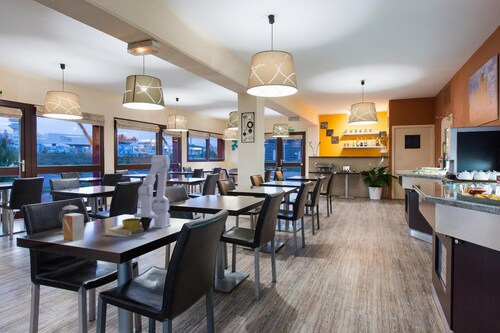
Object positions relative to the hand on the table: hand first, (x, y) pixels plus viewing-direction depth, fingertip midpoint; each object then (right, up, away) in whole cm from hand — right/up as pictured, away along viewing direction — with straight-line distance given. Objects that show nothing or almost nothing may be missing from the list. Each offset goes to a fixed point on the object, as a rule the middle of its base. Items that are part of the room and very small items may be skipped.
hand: (146, 230), depth 176 cm
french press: (-46, -2, +5) cm, 46 cm away
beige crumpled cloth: (-11, -1, +4) cm, 12 cm away
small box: (-34, -2, -12) cm, 36 cm away
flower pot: (-9, -2, +3) cm, 10 cm away
